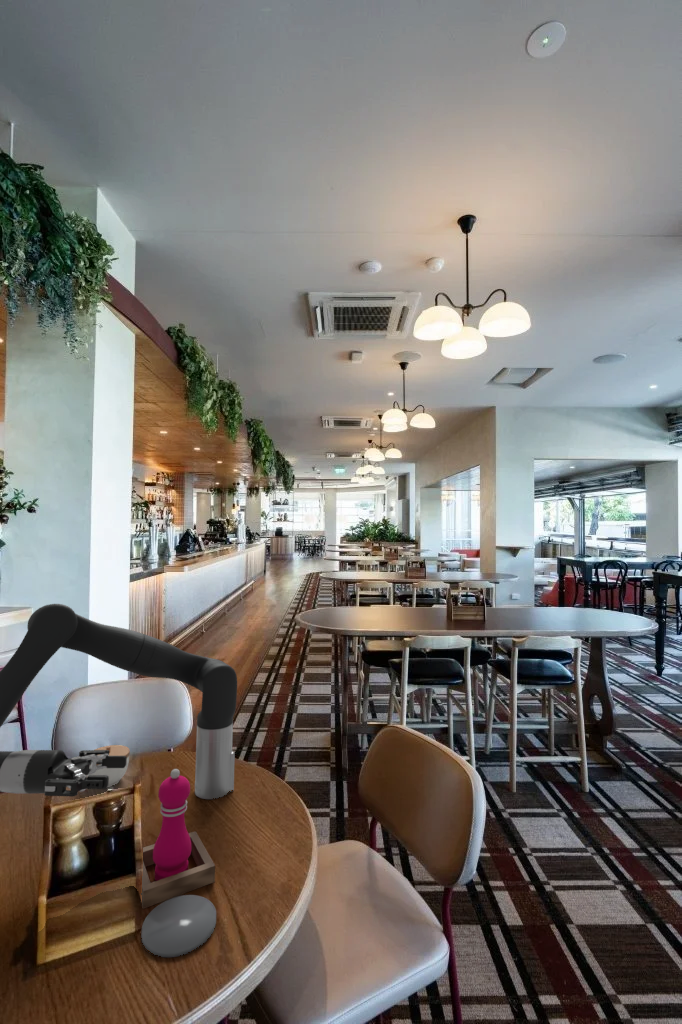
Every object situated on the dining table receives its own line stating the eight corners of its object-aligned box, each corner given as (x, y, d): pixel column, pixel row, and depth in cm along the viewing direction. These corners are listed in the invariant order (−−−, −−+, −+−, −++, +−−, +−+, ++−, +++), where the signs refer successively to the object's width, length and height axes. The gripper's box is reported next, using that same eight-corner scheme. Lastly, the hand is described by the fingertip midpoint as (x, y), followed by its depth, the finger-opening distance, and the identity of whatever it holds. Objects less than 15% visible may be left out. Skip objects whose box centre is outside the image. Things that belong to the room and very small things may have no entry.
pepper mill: (198, 867, 96) (201, 764, 98) (174, 891, 90) (178, 780, 91) (168, 858, 99) (172, 758, 100) (143, 882, 92) (147, 774, 93)
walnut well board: (195, 845, 103) (195, 831, 103) (214, 881, 92) (215, 865, 92) (130, 866, 96) (130, 851, 96) (142, 908, 85) (143, 891, 85)
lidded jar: (135, 781, 130) (137, 746, 131) (94, 797, 122) (96, 759, 123) (117, 769, 137) (119, 735, 138) (77, 783, 129) (79, 747, 130)
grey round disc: (204, 891, 90) (204, 886, 90) (225, 936, 80) (226, 929, 80) (135, 918, 83) (135, 911, 83) (149, 970, 73) (149, 963, 73)
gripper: (11, 768, 87) (102, 768, 88) (54, 737, 102) (132, 737, 102) (8, 811, 87) (100, 811, 88) (51, 774, 101) (130, 774, 102)
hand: (117, 771), depth 95 cm, fingers open, 8 cm apart
